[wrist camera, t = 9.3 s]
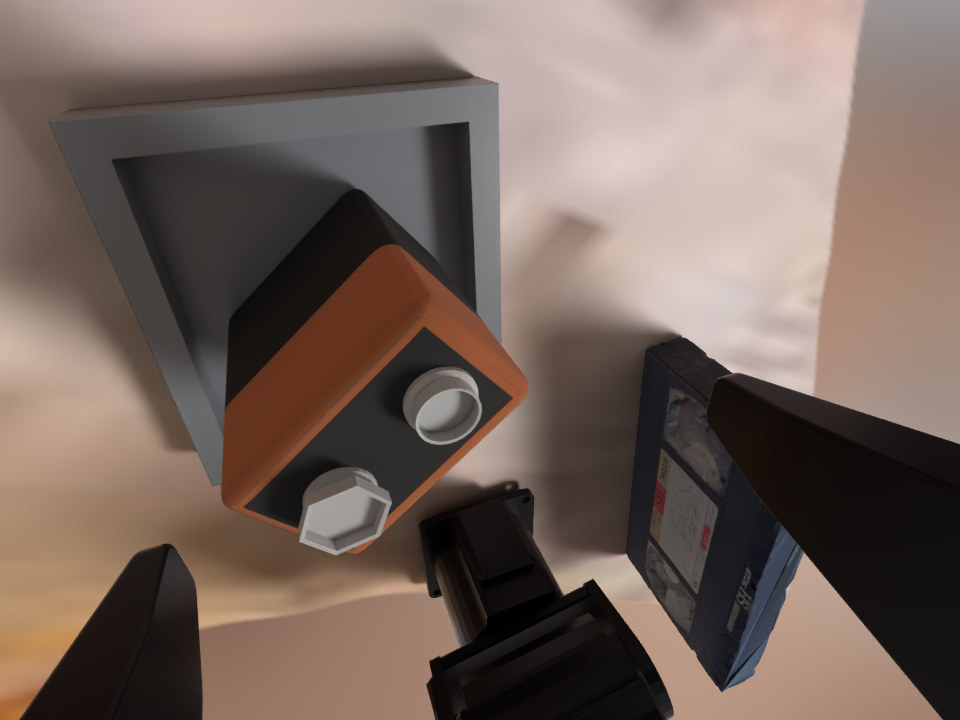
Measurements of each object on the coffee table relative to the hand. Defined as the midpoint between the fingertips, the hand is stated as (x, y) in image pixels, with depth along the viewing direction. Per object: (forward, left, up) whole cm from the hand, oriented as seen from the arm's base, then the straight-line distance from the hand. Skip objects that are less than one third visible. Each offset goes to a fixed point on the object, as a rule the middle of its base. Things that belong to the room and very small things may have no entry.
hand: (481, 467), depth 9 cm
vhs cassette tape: (-18, -16, -14) cm, 28 cm away
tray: (-3, +1, -13) cm, 14 cm away
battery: (-3, +1, -13) cm, 13 cm away
